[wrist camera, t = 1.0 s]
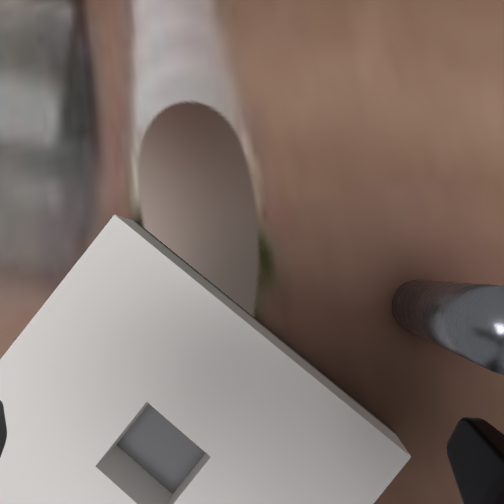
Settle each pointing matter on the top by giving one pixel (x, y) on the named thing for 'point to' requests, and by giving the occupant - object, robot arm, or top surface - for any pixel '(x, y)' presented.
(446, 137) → the top surface
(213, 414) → the bore board
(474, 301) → the steel pin
